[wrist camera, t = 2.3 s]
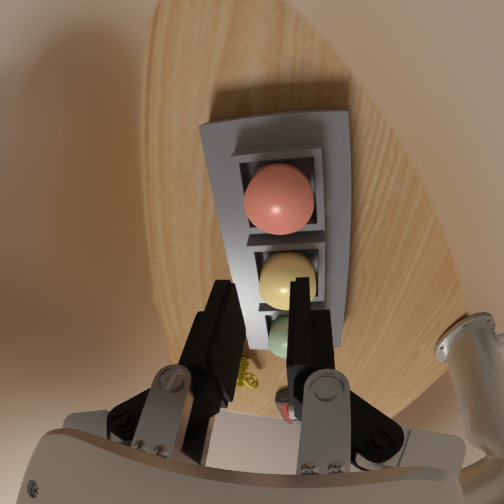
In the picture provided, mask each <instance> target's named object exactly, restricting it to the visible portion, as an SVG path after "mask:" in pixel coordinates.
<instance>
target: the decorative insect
mask: <svg viewBox="0 0 504 504" xmlns="http://www.w3.org/2000/svg"><path fill="white" fill-rule="evenodd" d="M246 359H247V357H242V358H241V362H240V367H239V372H238V377H237V387H238V388H241V387H243V386H244V384H245V385H246V386H247V387H250V388H252V389H253V388H257V387H258V380H257V378H256V377H255V375H253V374H252V373H246V370H245V369H248V366H249V361H246ZM244 372H245V373H244ZM245 375H250V376H251V377H250V378H248V377H245ZM252 378H253V382H252V384H251V383H250V382H249V381H248V380H251V379H252ZM242 381H243V382H242ZM255 383H256V384H255ZM253 384H255V386H254V385H253Z"/></svg>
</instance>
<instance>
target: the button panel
mask: <svg viewBox="0 0 504 504" xmlns="http://www.w3.org/2000/svg"><path fill="white" fill-rule="evenodd" d="M199 130H200V135H201V140H202V145H203V150H204V155H205V160H206V164H207V169H208V174H209V178H210V183H211V188H212V192H213V197H214V202H215V206H216V211H217V215H218V220H219V224H220V228H221V233H222V237H223V241H224V246H225V250H226V254H227V259H228V263H229V267H230V271H231V275H232V280H233V283H235V285H236V289H237V293H238V297H239V301H240V306H241V310H242V314H243V318H244V322H245V326H246V336H247V340H248V344H249V348H250V349H265V350H270V349H269V346H268V343H269V335H270V326H271V323H272V321H273V320H274V319H275V318H277V317H278V316H281V315H289V310H280V309H276V308H274V307H272V306H270V305H268V304H267V303H266V302H265V301H264V300H263V299H262V298H261V296H260V293H259V282H260V276H261V270H262V265H263V263H264V261H265V260H266V259H267V258H268V257H269V256H270V255H272V254H273V253H275V252H278V251H282V250H294V251H298V252H301V253H303V254H304V255H306V256H307V257H308V258H309V259H310V260H311V261H312V263H313V265H314V268H315V279H316V294H315V296H314V298H313V300H312V301H311V310H324V309H330V315H331V325H332V336H333V348H334V347H340V344H341V337H342V329H343V321H344V313H345V303H346V293H347V282H348V270H349V254H350V234H351V149H350V130H349V115H348V111H346V110H344V109H342V108H341V109H310V110H294V111H282V112H271V113H262V114H254V115H246V116H239V117H232V118H226V119H220V120H214V121H209V122H206V123H204V124H202V125H200V126H199ZM280 161H281V162H288V163H291V164H293V165H295V166H297V167H299V168H300V169H301V170H302V171H303V172H304V173H305V174H306V175H307V177H308V178H309V181H310V184H311V188H312V193H313V199H314V209H313V213H312V215H311V217H310V219H309V221H308V222H307V223H306V224H305V225H304V226H303V227H302V228H301V229H299V230H297V231H295V232H293V233H290V234H285V235H275V234H270V233H267V232H264V231H262V230H260V229H259V228H257V227H256V226H255V225H254V224H253V223H252V222H251V221H250V220H249V218H248V216H247V214H246V212H245V208H244V196H245V192H246V190H247V187H248V185H249V183H250V180H251V178H252V176H253V175H254V173H255V172H256V171H257V170H258V169H259V168H260V167H262V166H264V165H266V164H268V163H271V162H280Z"/></svg>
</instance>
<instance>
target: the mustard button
mask: <svg viewBox="0 0 504 504" xmlns="http://www.w3.org/2000/svg"><path fill="white" fill-rule="evenodd" d="M296 277H309V280H310V301H312V300H313V298H314V296H315V294H316V279H315V268H314V265H313V263H312V261H311V260H310V259H309V258H308V257H307V256H306V255H304V254H303V253H301V252H298V251H294V250H282V251H278V252H275V253H273V254H272V255H270V256H269V257H268V258H267V259H266V260H265V261H264V263H263V265H262V270H261V276H260V282H259V293H260V296H261V298H262V299H263V300H264V301H265V302H266V303H267V304H268V305H270V306H272V307H274V308H276V309H280V310H289V300H290V281H296Z"/></svg>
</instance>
